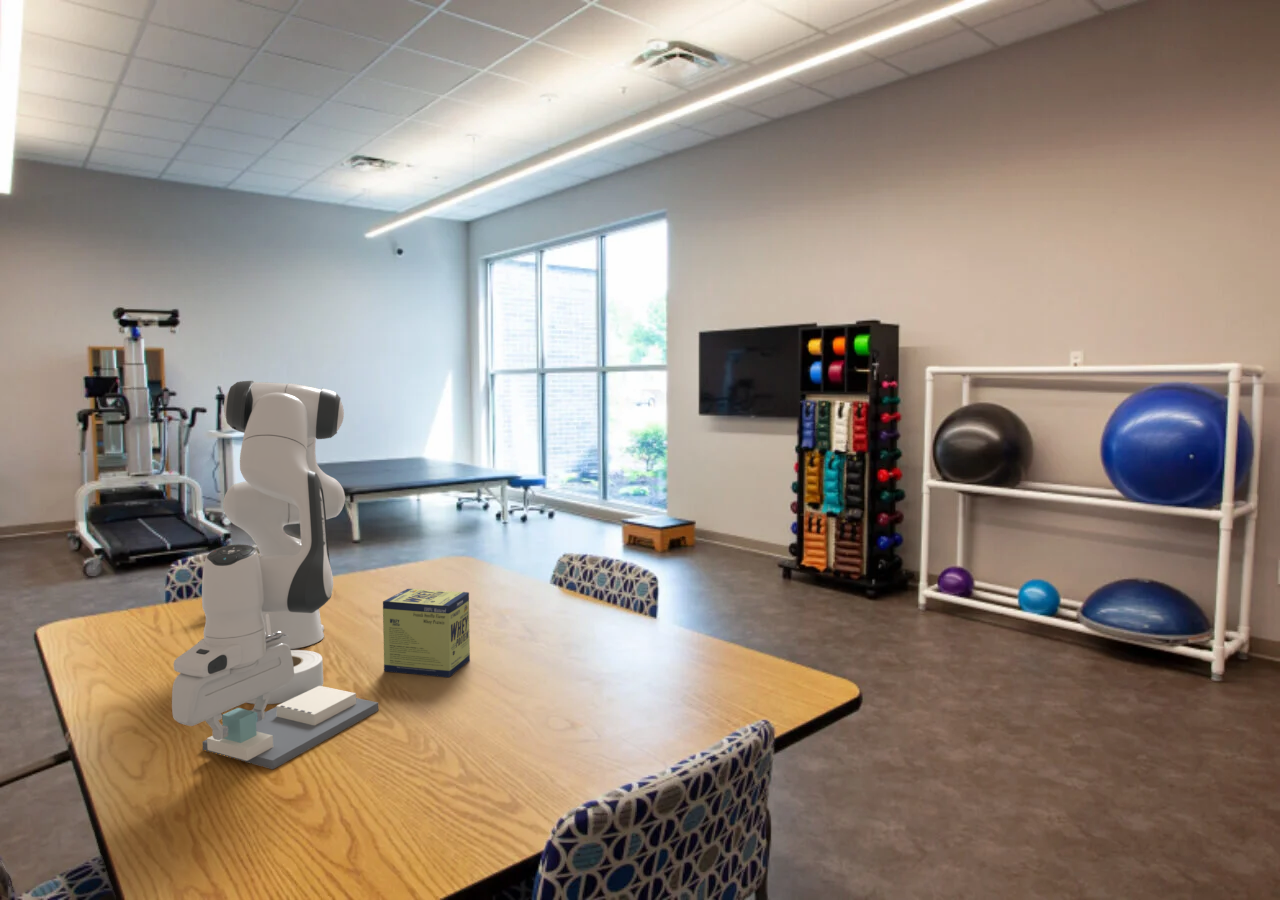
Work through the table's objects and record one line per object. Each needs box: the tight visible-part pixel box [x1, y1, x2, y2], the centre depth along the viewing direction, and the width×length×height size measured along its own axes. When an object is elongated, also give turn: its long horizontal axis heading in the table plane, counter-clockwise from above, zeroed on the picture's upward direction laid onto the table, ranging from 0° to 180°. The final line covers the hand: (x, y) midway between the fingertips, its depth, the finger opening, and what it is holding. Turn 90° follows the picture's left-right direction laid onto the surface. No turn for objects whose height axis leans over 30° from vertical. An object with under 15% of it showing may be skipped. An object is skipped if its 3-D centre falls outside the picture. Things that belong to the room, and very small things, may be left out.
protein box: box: [382, 588, 471, 678], centre depth 167 cm, size 10×16×16 cm
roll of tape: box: [246, 649, 324, 705], centre depth 155 cm, size 16×16×6 cm
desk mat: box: [202, 697, 380, 770], centre depth 137 cm, size 16×24×2 cm, turn 157°
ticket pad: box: [275, 685, 357, 726], centre depth 141 cm, size 9×10×2 cm
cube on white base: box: [206, 707, 273, 761], centre depth 126 cm, size 9×5×6 cm, turn 67°
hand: (239, 728), depth 126 cm, fingers open, 5 cm apart
